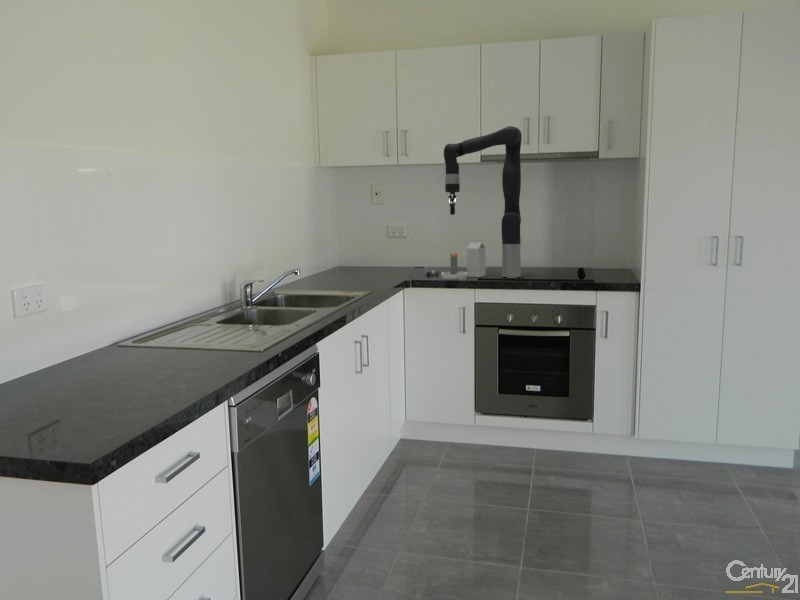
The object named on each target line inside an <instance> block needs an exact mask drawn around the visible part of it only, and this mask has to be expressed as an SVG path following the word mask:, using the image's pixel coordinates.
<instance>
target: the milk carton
mask: <svg viewBox="0 0 800 600" xmlns="http://www.w3.org/2000/svg"><path fill="white" fill-rule="evenodd" d="M466 272H467V278H468V277H469V278H481V277H485V276H486V246H485V244H484V243H483V240H482V239H470V240H469V243H468V244H467V246H466Z"/></svg>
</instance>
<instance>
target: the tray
mask: <svg viewBox="0 0 800 600" xmlns="http://www.w3.org/2000/svg"><path fill="white" fill-rule="evenodd" d="M440 279H456V281H460V282H461V281H463V282H464V281H467V280H468V277H467V271H457V274H451V271H442V272H441V274H440Z"/></svg>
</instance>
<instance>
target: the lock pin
mask: <svg viewBox="0 0 800 600" xmlns="http://www.w3.org/2000/svg"><path fill="white" fill-rule="evenodd" d="M450 272H451V274H457V272H458V253H450Z"/></svg>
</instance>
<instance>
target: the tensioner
mask: <svg viewBox="0 0 800 600" xmlns="http://www.w3.org/2000/svg"><path fill="white" fill-rule="evenodd" d="M427 269H428V268H427V266H412V268H411V279H439V278H441V274H440V271H436V270H434V269H433V270H432V269H431V270H430V271H427Z"/></svg>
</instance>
